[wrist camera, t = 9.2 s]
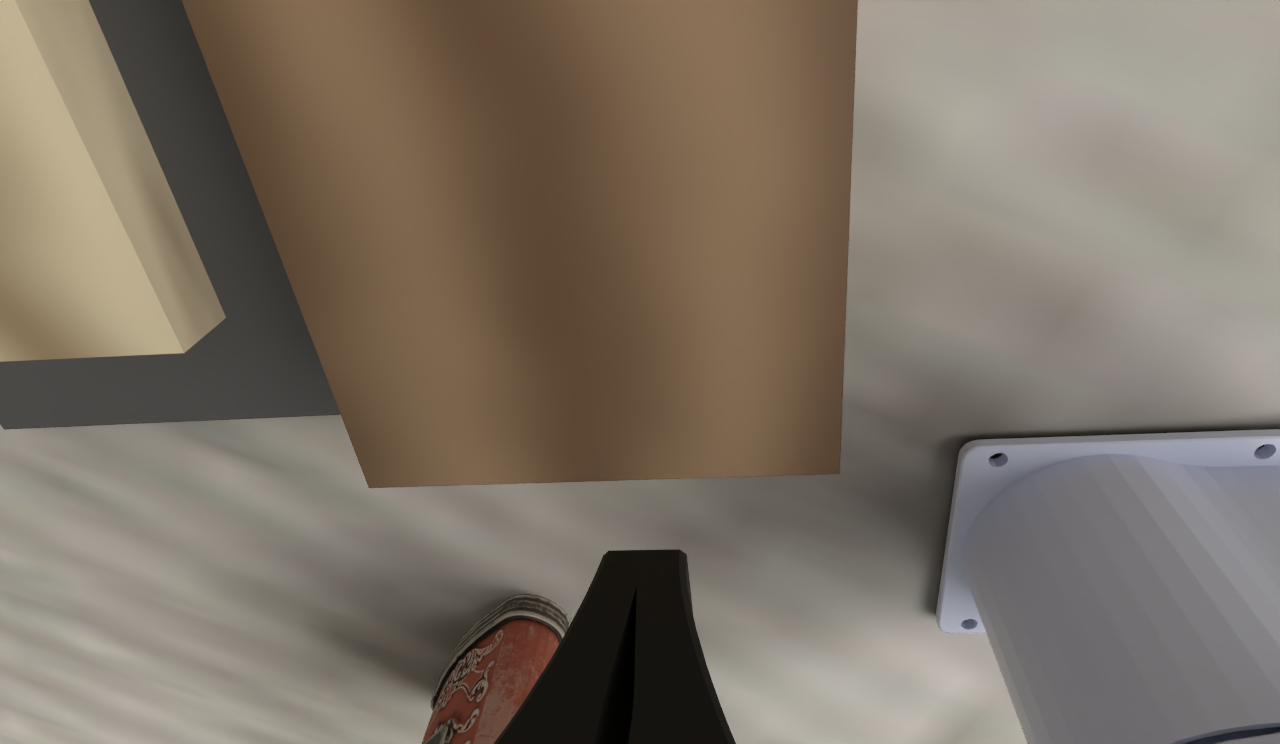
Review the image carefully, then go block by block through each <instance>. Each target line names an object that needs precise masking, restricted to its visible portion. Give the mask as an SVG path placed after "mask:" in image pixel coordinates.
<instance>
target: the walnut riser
mask: <svg viewBox="0 0 1280 744" xmlns="http://www.w3.org/2000/svg"><path fill="white" fill-rule="evenodd" d="M182 3H183V5H184V8H185V10H186V13H187V16H188V18H189V21H190V23H191V26H192V29H193V31H194V34H195V36H196V39H197V42H198V44H199V47H200V49H201V52H202V55H203V57H204V60H205V62H206V65H207V68H208V70H209V73H210V75H211V78H212V81H213V83H214V86H215V88H216V91H217V94H218V96H219V99H220V101H221V104H222V107H223V109H224V112H225V114H226V117H227V120H228V122H229V125H230V127H231V130H232V133H233V135H234V138H235V140H236V143H237V146H238V148H239V151H240V153H241V156H242V159H243V161H244V164H245V166H246V169H247V172H248V174H249V177H250V179H251V182H252V185H253V187H254V190H255V192H256V195H257V198H258V200H259V203H260V206H261V208H262V211H263V213H264V216H265V219H266V221H267V224H268V226H269V229H270V232H271V234H272V237H273V239H274V242H275V245H276V247H277V250H278V252H279V255H280V258H281V260H282V263H283V265H284V268H285V271H286V273H287V276H288V278H289V281H290V284H291V286H292V289H293V291H294V294H295V297H296V299H297V302H298V304H299V307H300V310H301V312H302V315H303V317H304V320H305V323H306V325H307V328H308V330H309V333H310V336H311V338H312V341H313V343H314V346H315V349H316V351H317V354H318V356H319V359H320V362H321V364H322V367H323V369H324V372H325V375H326V377H327V380H328V382H329V385H330V388H331V390H332V393H333V395H334V398H335V401H336V403H337V406H338V408H339V411H340V414H341V416H342V419H343V421H344V424H345V427H346V429H347V432H348V434H349V437H350V440H351V442H352V445H353V447H354V450H355V453H356V455H357V458H358V460H359V463H360V466H361V468H362V471H363V473H364V476H365V479H366V481H367V484H368V486H369V488H385V487H418V486H452V485H485V484H518V483H551V482H584V481H618V480H651V479H684V478H717V477H751V476H784V475H817V474H840V451H841V425H842V399H843V372H844V346H845V320H846V294H847V268H848V241H849V215H850V189H851V163H852V136H853V110H854V84H855V58H856V32H857V5H858V0H182Z"/></svg>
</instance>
